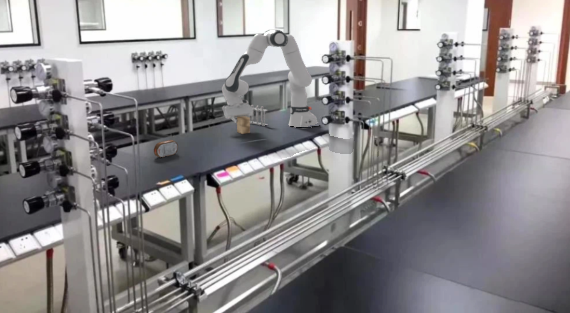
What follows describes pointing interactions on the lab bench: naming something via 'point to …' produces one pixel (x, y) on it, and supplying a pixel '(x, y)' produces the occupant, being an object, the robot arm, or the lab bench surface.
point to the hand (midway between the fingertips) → (242, 121)
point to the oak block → (243, 125)
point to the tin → (165, 148)
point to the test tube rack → (257, 116)
